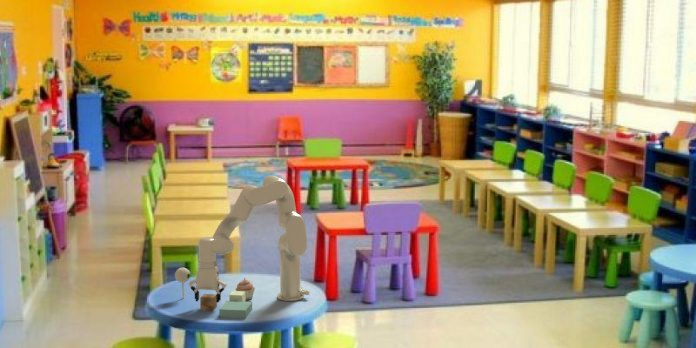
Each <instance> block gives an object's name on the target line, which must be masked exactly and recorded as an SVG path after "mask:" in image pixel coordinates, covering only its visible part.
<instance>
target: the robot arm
mask: <svg viewBox="0 0 696 348" xmlns="http://www.w3.org/2000/svg"><path fill="white" fill-rule="evenodd" d="M271 202H276V209H277V218H278V219H277V220H278V226H279V227H280V229H283V230H284V232H283V233H281V235H280V236H279V238H278V242H277V243H278V244H277V245H278V251H279V264H280V265H279V282H280V283H279V284H280V286H279V288H280V290H279V291H280V292H279V293H278V294H276V298H277V299H278V300H280V301H284V302H285V301H286V302H295V301H296V302H297V301H301V300H302V299H303V298H305V296H310V293H311V292H310V290H308V289H303V287H302V286H301V257H302V256H303V255H304V254H305V253H306V251H307V249H308V240H307V229H306V223H305V220H304V218H303V216H302V215H301V214H299V213H297V208H296V202H295V196H294V193H293V191H292V189H291V187H290V185H289V184H288V183H287V182H286V181H285V180H284V179H283V178H280V177H279V176H276V175H272V174H271V175H266V176H265V177H264V179H263V180H262V185H261V186H256V185H252V184H247V185H245V186H244V187H243V188H242V190H241V192H240V193H239V196H238V197H237V199H236V201H235V203H234V205H233V206H232V208H231V210H230V212H229V213H228V214H227V215H226V216H225V217H224V218H223V220H221V221H220V223H219V225H217V228H216V230H215V231H214V233H213V235H212V237H209V236H205V237H200V238H199V240H198V266H197V269H196V276H195V279H193V280H191V281H189V282H188V285H189V287H190V289H191V290H192V291H193V293H194V300H195V302H199V300H200V291H199V290H205V291H206V290H207V291H209V290H210V291H215V292H216V302H217V304H218V303H219V302H220V301H221V300H222V299H221V298H222V297H221V296H222V295H221V294H222V292H223V291H225V289H226V287H227V283H225V282H224V281H221V280H220V274H219V268H218V267H219V265H220V263H219V262H217V255H227V254H229V253H230V254H231V252H233V250H234V249H235V244H234V242H233V240H232V239H231V238H230V237H231V235H232V233H233V232H234V231H235V229H237V227H239V226H241V225H243V224H245V223H246V222H247V221H248V220H249V218H250V216H251V214H252V212H253V210H254V208H255V207H261V206H263V205H267V204H269V203H271ZM216 254H217V255H216ZM194 284H195V285H194ZM220 286H221V288H220Z"/></svg>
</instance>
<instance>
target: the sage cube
mask: <svg viewBox="0 0 696 348" xmlns="http://www.w3.org/2000/svg"><path fill="white" fill-rule="evenodd" d="M229 301H238V302H246V300H245V291H236V290H232V291H231V292H230V294H229Z"/></svg>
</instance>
